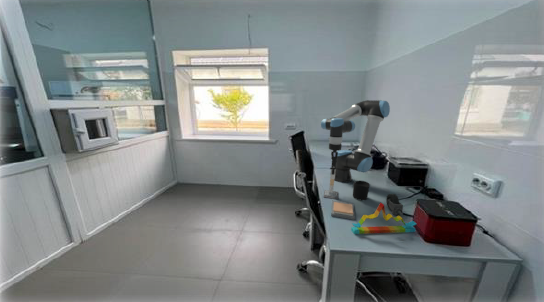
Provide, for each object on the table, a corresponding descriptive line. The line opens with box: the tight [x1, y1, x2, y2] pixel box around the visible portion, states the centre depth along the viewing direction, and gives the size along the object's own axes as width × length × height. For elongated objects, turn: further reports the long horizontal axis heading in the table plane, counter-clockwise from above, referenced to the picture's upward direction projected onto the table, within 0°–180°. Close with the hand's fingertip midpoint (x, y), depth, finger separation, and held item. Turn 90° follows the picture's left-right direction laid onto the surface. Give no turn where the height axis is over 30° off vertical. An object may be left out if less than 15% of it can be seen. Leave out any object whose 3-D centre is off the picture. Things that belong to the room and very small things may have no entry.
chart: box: [350, 202, 417, 235], centre depth 99 cm, size 30×3×15 cm, turn 94°
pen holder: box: [352, 180, 371, 201], centre depth 134 cm, size 9×9×10 cm
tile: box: [333, 202, 353, 216], centre depth 117 cm, size 2×10×10 cm
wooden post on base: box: [323, 178, 338, 197], centre depth 136 cm, size 8×8×18 cm
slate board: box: [330, 199, 356, 221], centre depth 119 cm, size 16×12×2 cm
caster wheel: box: [385, 193, 404, 216], centre depth 117 cm, size 6×10×15 cm
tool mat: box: [323, 190, 339, 200], centre depth 138 cm, size 11×9×1 cm
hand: (332, 175), depth 135 cm, fingers open, 13 cm apart
